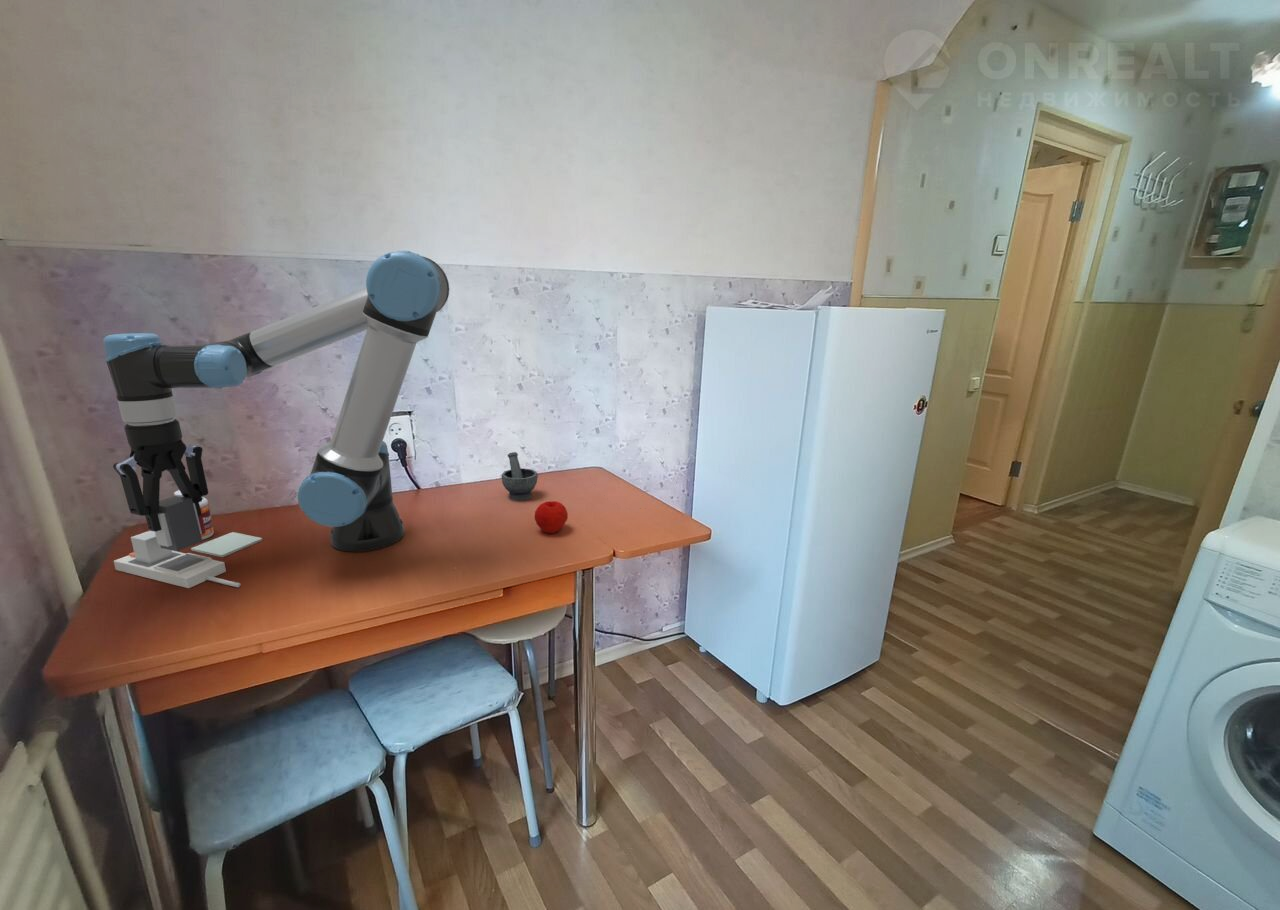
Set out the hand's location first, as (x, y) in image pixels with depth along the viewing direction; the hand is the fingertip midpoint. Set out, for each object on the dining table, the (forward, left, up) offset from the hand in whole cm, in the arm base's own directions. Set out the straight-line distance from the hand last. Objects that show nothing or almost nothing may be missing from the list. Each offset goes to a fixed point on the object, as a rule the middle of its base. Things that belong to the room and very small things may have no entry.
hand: (180, 538), depth 105 cm
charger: (0, 0, -1) cm, 1 cm away
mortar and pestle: (-38, -63, -8) cm, 74 cm away
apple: (-57, -45, -8) cm, 73 cm away
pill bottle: (+16, -12, -8) cm, 21 cm away
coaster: (+5, -12, -8) cm, 15 cm away
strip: (0, 0, -8) cm, 8 cm away
